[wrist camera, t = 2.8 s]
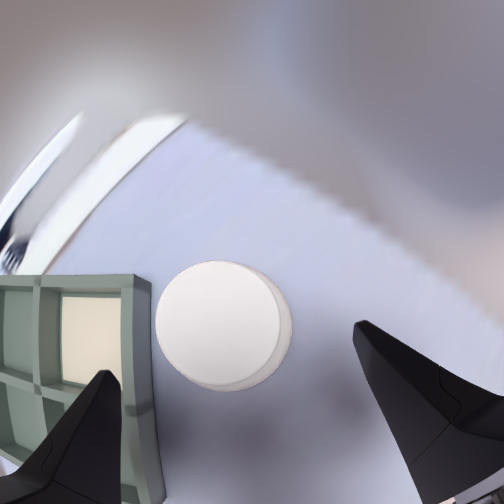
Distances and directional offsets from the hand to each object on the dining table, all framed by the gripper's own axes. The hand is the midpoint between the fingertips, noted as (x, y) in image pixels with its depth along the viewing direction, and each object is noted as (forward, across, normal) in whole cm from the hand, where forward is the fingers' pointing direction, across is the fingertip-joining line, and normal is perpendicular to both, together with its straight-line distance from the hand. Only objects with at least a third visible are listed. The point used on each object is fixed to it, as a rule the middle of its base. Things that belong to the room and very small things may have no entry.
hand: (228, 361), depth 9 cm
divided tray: (+5, +15, +7) cm, 17 cm away
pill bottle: (+7, 0, +5) cm, 9 cm away
